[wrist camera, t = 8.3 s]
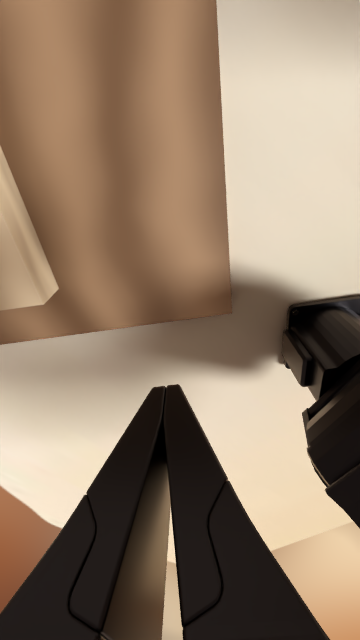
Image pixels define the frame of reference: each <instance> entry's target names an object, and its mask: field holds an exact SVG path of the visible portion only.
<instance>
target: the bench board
mask: <svg viewBox="0 0 360 640" xmlns="http://www.w3.org/2000/svg"><path fill="white" fill-rule="evenodd" d="M0 146H1V149H2V151H3V154H4V156H5V158H6V161H7V163H8V166H9V168H10V171H11V173H12V175H13V178H14V180H15V183H16V185H17V188H18V190H19V192H20V195H21V197H22V200H23V202H24V205H25V207H26V210H27V212H28V214H29V217H30V219H31V222H32V224H33V227H34V229H35V231H36V234H37V236H38V239H39V241H40V244H41V246H42V248H43V251H44V253H45V256H46V258H47V261H48V263H49V265H50V268H51V270H52V273H53V275H54V278H55V280H56V283H57V285H58V287H59V289H58V290H57V291H56V292H55V293H54V294H53V296H52V297H51V298H50V299H49V300H48V301H47V302H46V303H45V304H44V305H37V306H30V307H23V308H15V309H8V310H1V311H0V345H1V344H8V343H16V342H23V341H30V340H38V339H45V338H53V337H60V336H67V335H75V334H82V333H89V332H97V331H104V330H112V329H119V328H126V327H134V326H141V325H148V324H156V323H163V322H170V321H178V320H185V319H193V318H200V317H207V316H215V315H222V314H229V313H232V302H231V283H230V263H229V243H228V224H227V204H226V184H225V165H224V145H223V126H222V106H221V86H220V67H219V47H218V27H217V8H216V0H0Z"/></svg>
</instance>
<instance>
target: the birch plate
mask: <svg viewBox="0 0 360 640" xmlns="http://www.w3.org/2000/svg"><path fill="white" fill-rule="evenodd" d="M58 289H59V287H58V285H57V283H56V280H55V278H54V275H53V273H52V270H51V268H50V265H49V263H48V261H47V258H46V256H45V253H44V251H43V248H42V246H41V244H40V241H39V239H38V236H37V234H36V231H35V229H34V227H33V224H32V222H31V219H30V217H29V214H28V212H27V210H26V207H25V205H24V202H23V200H22V197H21V195H20V192H19V190H18V188H17V185H16V183H15V180H14V178H13V175H12V173H11V171H10V168H9V166H8V163H7V161H6V158H5V156H4V154H3V151H2V149H1V146H0V311H1V310H8V309H15V308H23V307H30V306H37V305H44V304H45V303H46V302H47V301H48V300H49V299H50V298H51V297H52V296H53V294H54V293H55V292H56V291H57V290H58Z"/></svg>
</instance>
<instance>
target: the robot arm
mask: <svg viewBox="0 0 360 640" xmlns="http://www.w3.org/2000/svg"><path fill="white" fill-rule="evenodd" d="M294 310H297V311H296V312H294V313H293V311H294ZM282 355H283V357H284V365H285V367H286V368H288V369H291V371H292V372H293V374H294V376H295V378H296V379H297V381H298V383H299V384H300V385H301V386H302V387H308V388H309V390H310V391H311V393H312V395H313V396H314V398H315V400H316V402H315V403H314V404H313V405H312V406H311V407H310V408H309V409H308V408H307V409H306V410H305V411H304V412H303V413H302V416H303V422H304V427H305V433H306V438H307V444H308V448H307V452H308V456H309V457H310V459H311V462H312V465H313V467H314V470H315V472H316V473H317V474H318V476H319V478H320V479H321V481H322V482H323V483H324V484H325V486H326V487H327V488H326V489H325V491H326V493H327V495H328V496H329V497H330V498H332V499H333V500H334V501H335V502H336V503H337V504H338V505H339V506H340V507H341V508H342V509H343V510H344V511H345V512H346V513H347V514H348V515H349V516H350V518H351V519H352V520H353V521H354V522H355V523H356V525H357V526H358V527H359V528H360V296H354V297H347V298H340V299H332V300H325V301H318V302H310V303H303V304H295V305H292V306H290V307H289V308H288V311H287V325H286V329H285V330H284V332H283V344H282ZM170 506H171V513H172V524H173V534H174V545H175V556H176V567H177V577H178V589H179V599H180V611H181V622H182V627H183V640H330V639H329V638H328V636H327V635H326V634H325V632H324V631H323V629H322V628H321V626H320V625H319V623H318V622H317V621H316V619H315V618H314V616H313V615H312V613H311V612H310V610H309V609H308V607H307V606H306V604H305V603H304V601H303V600H302V598H301V597H300V595H299V594H298V592H297V591H296V589H295V588H294V586H293V585H292V583H291V582H290V580H289V579H288V577H287V576H286V574H285V573H284V571H283V570H282V568H281V567H280V565H279V564H278V562H277V561H276V559H275V558H274V556H273V555H272V553H271V552H270V550H269V549H268V547H267V546H266V544H265V542H264V541H263V539H262V538H261V536H260V534H259V533H258V531H257V530H256V528H255V526H254V525H253V523H252V522H251V520H250V518H249V517H248V515H247V513H246V511H245V509H244V508H243V506H242V504H241V502H240V500H239V499H238V497H237V495H236V493H235V491H234V489H233V487H232V485H231V483H230V481H228V478H227V476H226V474H225V472H224V470H223V468H222V466H221V464H220V462H219V460H218V458H217V456H216V455H215V453H214V451H213V449H212V447H211V445H210V443H209V441H208V439H207V437H206V435H205V433H204V431H203V429H202V427H201V425H200V423H199V422H198V420H197V418H196V416H195V414H194V412H193V410H192V408H191V406H190V404H189V402H188V400H187V398H186V396H185V394H184V392H183V391H182V389H181V387H180V385H178V384H177V385H168V386H167V387H165V386H160V387H154V388H152V389H151V391H150V393H149V394H148V396H147V397H146V399H145V401H144V402H143V404H142V405H141V407H140V408H139V410H138V412H137V413H136V415H135V416H134V418H133V419H132V421H131V423H130V424H129V426H128V427H127V429H126V430H125V432H124V434H123V435H122V437H121V438H120V440H119V442H118V443H117V445H116V446H115V448H114V449H113V451H112V453H111V454H110V456H109V457H108V459H107V460H106V462H105V464H104V465H103V467H102V468H101V470H100V471H99V473H98V475H97V476H96V478H95V479H94V481H93V483H92V484H91V486H90V487H89V489H88V490H87V495H84V496H83V498H82V500H81V501H80V503H79V504H78V506H77V508H76V509H75V511H74V512H73V514H72V515H71V517H70V518H69V520H68V521H67V523H66V524H65V526H64V527H63V529H62V530H61V532H60V533H59V535H58V536H57V538H56V539H55V540H54V542H53V543H52V545H51V546H50V548H49V549H48V550H47V551H46V553H45V554H44V556H43V557H42V558H41V560H40V561H39V562H38V564H37V565H36V567H35V568H34V569H33V571H32V572H31V573H30V575H29V576H28V577H27V579H26V580H25V582H24V583H23V584H22V585H21V587H20V588H19V589H18V591H17V592H16V593H15V595H14V596H13V597H12V599H11V600H10V601H9V603H8V604H7V605H6V607H5V608H4V609H3V611H2V612H1V613H0V640H162V625H163V610H164V595H165V580H166V565H167V551H168V536H169V521H170Z"/></svg>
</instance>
